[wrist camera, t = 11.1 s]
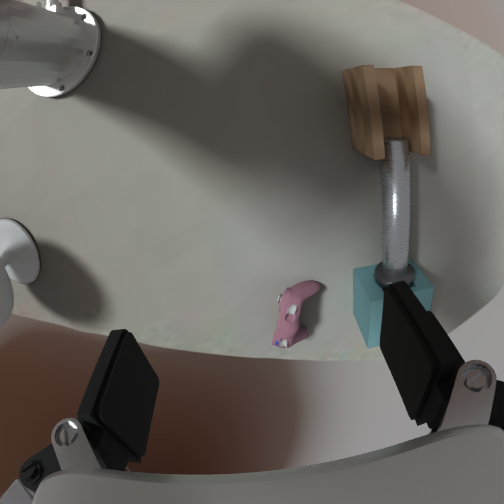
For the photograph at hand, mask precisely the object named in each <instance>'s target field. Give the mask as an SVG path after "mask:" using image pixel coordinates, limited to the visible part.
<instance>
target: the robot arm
mask: <svg viewBox="0 0 504 504" xmlns="http://www.w3.org/2000/svg"><path fill="white" fill-rule="evenodd" d="M44 1H45V7H44V8H42V7H41V2H37V3H35V4H33V5H31V4H28V3H24V2H20V1H16V0H0V89H7V88H19V87H28V88H29V89H30V90H31V91H32V92H33V93H34V94H36V95H38V96H41V97H56V96H61V95H63V94H66V93H68V92H70V91H71V90H73V89H74V88H76V87H77V86H78V85H79V84H80V83H81V82H82V81H83V80H84V79H85V77H86V76H87V75H88V74H89V72H90V70H91V69H92V67H93V66H94V63H95V61H96V59H97V56H98V53H99V49H100V43H101V30H100V27H99V23H98V21H97V20H96V18H95V16H94V15H93V14H92V13H91V12H89V11H87V10H85V9H83V8H80V7H75V6H69V7H63V8H62V5H61V3H60V2H58V0H44ZM92 52H93V53H92ZM91 54H92V55H91ZM64 87H65V88H64ZM380 348H381V351H382V353H383V356H384V358H385V360H386V362H387V365H388V367H389V369H390V371H391V374H392V376H393V378H394V381H395V383H396V385H397V388H398V390H399V393H400V395H401V397H402V400H403V402H404V405H405V407H406V410H407V412H408V415H409V417H410V418H411V420H414V419H415V421H416V423H417V426H418V425H421V424H424V423H427V425H428V427H429V428H430V429H431V430H430V433H429V434H428V435H425V436H422V437H419V438H415V439H412V440H409V441H406V442H403V443H400V444H397V445H393V446H390V447H387V448H383V449H379V450H376V451H372V452H368V453H364V454H361V455H357V456H353V457H349V458H344V459H340V460H335V461H330V462H325V463H320V464H315V465H309V466H303V467H297V468H290V469H283V470H275V471H267V472H255V473H242V474H226V475H171V474H153V473H140V472H130V471H129V470H128V468H127V462H135V463H140V461H141V457H142V456H144V455H145V451H146V447H147V441H148V436H149V431H150V426H151V421H152V416H153V411H154V406H155V401H156V397H157V392H158V387H159V379H158V376H157V375H156V373H155V372H154V370H153V368H152V367H151V365H150V363H149V362H148V360H147V358H146V357H145V355H144V353H143V352H142V350H141V348H140V346H139V345H138V343H137V341H136V339H135V338H134V336H133V334H132V333H131V332H128V331H127V330H126V329H120V330H112V331H111V332H110V334H109V336H108V339H107V341H106V343H105V345H104V348H103V350H102V352H101V355H100V357H99V359H98V362H97V364H96V367H95V369H94V371H93V374H92V376H91V379H90V381H89V384H88V386H87V389H86V391H85V394H84V397H83V399H82V402H81V405H80V407H79V410H78V413H77V415H78V419H77V420H76V419H73V418H66V419H64V420H61V421H60V422H59V423H58V424H57V425H56V426H55V427H54V429H53V432H52V436H51V439H52V444H50V445H49V446H47V447H46V448H44V449H43V450H41V451H40V452H38V453H37V454H35V455H34V456H32V457H31V458H29V459H28V460H26V461H25V462H24V463H23V465H22V466H21V469H20V475H19V476H20V481H19V480H18V479H16V481H15V482H14V483H13V484H12V485H11V486H10V487H9V489H8V490H7V491H6V492H5V493H4V494H3V496H2V497H1V498H0V504H504V382H502V381H499V380H496V374H495V371H494V369H493V368H492V367H491V366H490V365H489V364H487V363H486V362H483V361H481V360H471V361H468V362H466V363H465V361H464V360H463V358H462V357H461V355H460V353H459V352H458V350H457V349H456V347H455V346H454V344H453V342H452V341H451V339H450V338H449V336H448V335H447V333H446V332H445V330H444V329H443V327H442V326H441V324H440V323H439V322H438V320H437V319H436V317H435V316H434V314H433V313H432V312H431V311H429V310H428V311H426V310H425V308H424V307H423V305H422V304H421V302H420V301H419V300H418V298H417V297H416V295H415V294H414V293H413V291H412V290H411V288H410V287H409V286H408V284H407V283H406V282H405V281H399V282H394V283H390V284H389V285H388V288H387V289H385V290H384V298H383V311H382V322H381V332H380Z"/></svg>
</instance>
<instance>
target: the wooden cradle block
mask: <svg viewBox="0 0 504 504" xmlns="http://www.w3.org/2000/svg"><path fill="white" fill-rule="evenodd" d="M342 75H343V80H344V86H345V92H346V98H347V105H348V112H349V119H350V126H351V134H352V142H353V149H354V150H356V151H358V152H360V153H362V154H364V155H366V156H368V157H370V158H372V159H374V160H379V159H385V149H384V138H386V137H401V138H407V139H408V142H409V151H412V152H414V153H417V154H419V155H431V149H430V131H429V119H428V108H427V99H426V91H425V83H424V76H423V70H422V66H407V67H400V68H374V65H362V66H358V67H354V68H351V69H347V70H344V71H342Z"/></svg>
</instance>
